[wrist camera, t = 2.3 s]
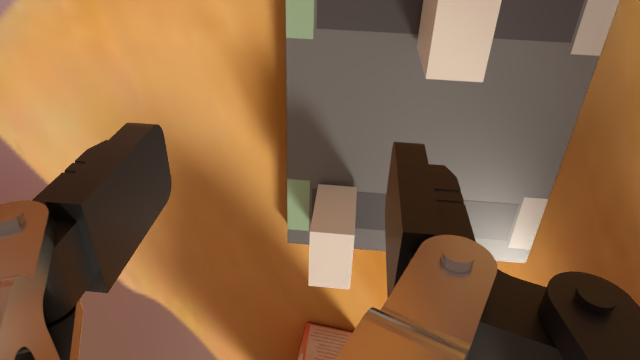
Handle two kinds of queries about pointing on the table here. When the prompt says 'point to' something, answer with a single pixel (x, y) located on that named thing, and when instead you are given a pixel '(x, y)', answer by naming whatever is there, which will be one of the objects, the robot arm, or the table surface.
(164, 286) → the table surface
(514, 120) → the breaker panel
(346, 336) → the cracker box
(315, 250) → the handle
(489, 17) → the beige rectangular block
